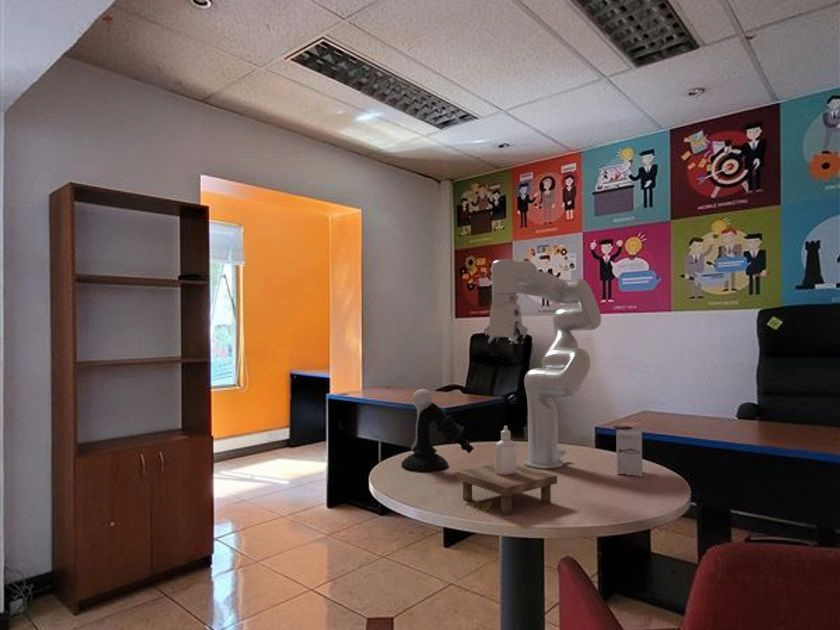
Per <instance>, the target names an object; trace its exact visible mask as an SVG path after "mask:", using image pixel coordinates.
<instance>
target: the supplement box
mask: <svg viewBox="0 0 840 630" xmlns="http://www.w3.org/2000/svg"><path fill="white" fill-rule="evenodd" d="M615 434H616V438H615V439H616V440H615V441H616V443H615V444H616V446H615V447H616V475H617V474H629V475H642V476H643V432H642V431H639V430H626V429H624V430H623V429H616V433H615ZM629 475H628V476H629Z"/></svg>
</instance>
